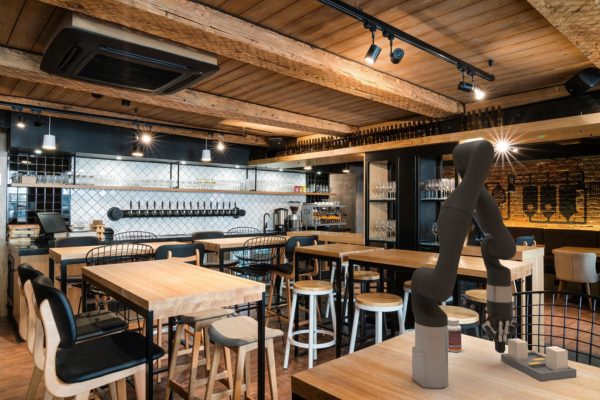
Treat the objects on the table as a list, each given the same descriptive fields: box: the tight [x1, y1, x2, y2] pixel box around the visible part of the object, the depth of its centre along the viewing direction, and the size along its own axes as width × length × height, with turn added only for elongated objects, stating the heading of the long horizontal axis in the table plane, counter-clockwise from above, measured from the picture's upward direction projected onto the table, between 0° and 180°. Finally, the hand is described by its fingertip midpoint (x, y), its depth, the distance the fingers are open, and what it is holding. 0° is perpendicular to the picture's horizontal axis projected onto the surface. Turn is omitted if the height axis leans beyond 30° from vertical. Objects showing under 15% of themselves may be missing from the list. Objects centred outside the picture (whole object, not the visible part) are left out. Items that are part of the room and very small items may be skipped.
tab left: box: [507, 337, 529, 361], centre depth 129 cm, size 4×4×6 cm
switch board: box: [500, 350, 577, 382], centre depth 125 cm, size 13×16×2 cm
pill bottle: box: [447, 316, 463, 353], centre depth 142 cm, size 6×6×11 cm
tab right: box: [545, 345, 569, 370], centre depth 121 cm, size 4×4×6 cm
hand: (500, 352), depth 127 cm, fingers closed
